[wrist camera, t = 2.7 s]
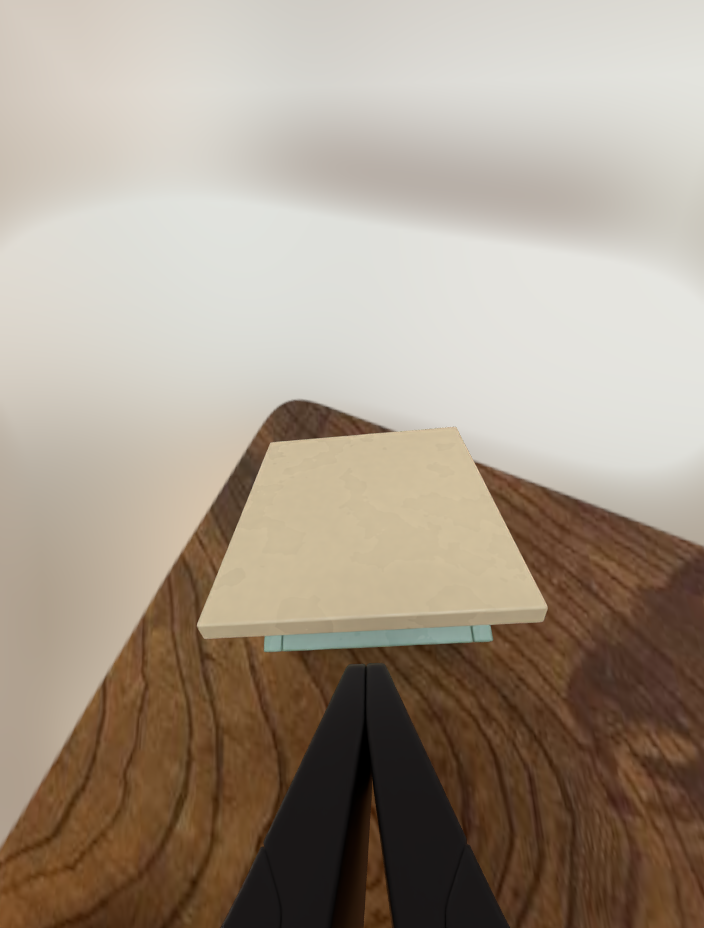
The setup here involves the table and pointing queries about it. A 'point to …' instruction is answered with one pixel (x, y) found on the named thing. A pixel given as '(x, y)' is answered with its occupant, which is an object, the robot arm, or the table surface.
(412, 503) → the lid
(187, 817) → the table surface
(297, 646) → the green boxy piece
